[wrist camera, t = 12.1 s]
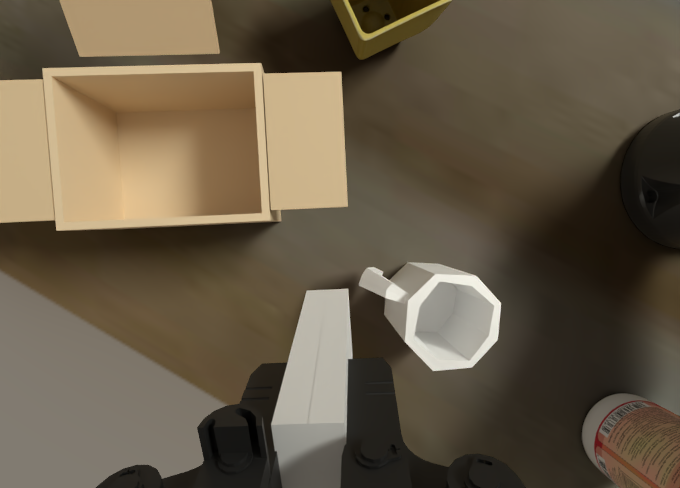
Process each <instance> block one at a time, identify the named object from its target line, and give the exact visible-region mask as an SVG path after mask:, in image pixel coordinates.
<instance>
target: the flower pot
mask: <svg viewBox="0 0 680 488" xmlns="http://www.w3.org/2000/svg"><path fill="white" fill-rule="evenodd" d="M330 1H331V3H332V5H333V7H334V9H335V11H336V14H337V16H338V18H339V20H340V22H341V24H342V26H343V28H344V30H345V33H346V35H347V37H348V39H349V41H350V43H351V46H352V48H353V50H354V52H355V55H356V56H357V58H358V59H360V60H363V59H366V58H368V57H370V56H372V55H374V54H376V53H378V52H380V51H382V50H384V49H386V48H388V47H390V46H392V45H394V44H397V43H399V42H401V41H403V40H405V39H407V38H409V37H412V36H414V35H416V34H418V33H420V32H422V31H424V30H425V29H427V28H428V27H429V26H430V25H431V24H432V23H433V22H434V21H435V20H436V19H437V18H438V17H439V16H440V14H441V13H442V12H443V11H444V10H445V9H446V7H447V6H448V5H449V4H450V3H451V1H452V0H330ZM364 7H368V8H369V11H368V12H364V11H363V8H364ZM385 15H389V17H390V18H389V20H385V18H384V16H385Z"/></svg>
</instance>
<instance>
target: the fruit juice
mask: <svg viewBox="0 0 680 488" xmlns="http://www.w3.org/2000/svg"><path fill="white" fill-rule="evenodd" d="M582 442H583V446H584V449H585V451H586V453H587V455H588V457H589V459H590V460H591V461H592V462H593V464H594V465H595V466H596V467H597V468H598V469H599V470H600V471H601V472H602V473H604V474H605V475H606V476H607V477H608V478H609V479H611V480H612V481H613V482H614V483H615V484H616V485H617V486H619V487H620V488H680V416H678V415H676V414H674V413H672V412H670V411H668V410H667V409H665V408H663V407H661V406H659V405H657V404H655V403H653V402H651V401H649V400H648V399H645V398H643V397H640V396H637V395H633V394H627V393H620V394H613V395H610V396H607V397H605V398H603V399H602V400H600V401H599V402H598V403H596V404H595V405H594V406H593V407H592V408H591V410H590V411H589V413H588V414H587V416H586V418H585V421H584V424H583V428H582Z"/></svg>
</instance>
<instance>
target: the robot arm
mask: <svg viewBox="0 0 680 488" xmlns="http://www.w3.org/2000/svg"><path fill="white" fill-rule="evenodd" d="M621 192H622V198H623V202H624V205H625V208H626V210H627V212H628V214H629V216H630V218H631V220H632V221H633V223H634V224H635V225H636V226H637V228H638V229H639V230H640V231H641V232H642V233H643V234H645V235H646V236H647V237H648V238H650V239H651V240H653V241H655V242H657V243H659V244H661V245H664V246H667V247H672V248H679V249H680V109H679V110H676V111H673V112H670V113H667V114H664V115H662V116H660V117H658V118H656V119H655V120H653V121H652V122H650V123H649V124H648V125H646V126H645V127H644V128H643V129H642V130H641V131H640V132H639V133H638V135H637V136H636V137H635V139H634V140H633V142H632V143H631V145H630V147H629V149H628V151H627V153H626V156H625V158H624V162H623V166H622V171H621ZM352 357H353V354H352V339H351V324H350V309H349V294H348V289H331V290H311V291H307V292H306V295H305V299H304V303H303V307H302V310H301V314H300V318H299V322H298V325H297V329H296V333H295V337H294V340H293V344H292V348H291V352H290V355H289V359H288V363H267V364H261V365H260V366H259V367H258V368H257V369H256V370H255V371H254V372H253V373H252V374H251V376H250V378H249V381H248V383H247V386H246V390H245V391H244V393H243V396H242V401H240V404H235V405H229V406H225V407H223V408H220V409H218V410H216V411H214V412H212V413H211V414H210V415H208V416H207V417H206V418H205V419H204V420H203V421H202V422H201V423H200V425H199V426H198V427H197V428H198V433H199V438H200V443H201V447H202V452H203V457H204V462H203V464H202V465H201V466H199V467H197V468H195V469H192V470H190V471H187V472H184V473H180V474H177V475H174V476H170V477H167V478H164V479H161V476H160V474H159V472H158V470H157V469H156V468H154V467H151V466H149V465H135V466H132V467H128V468H125V469H122V470H120V471H118V472H116V473H115V474H113V475H111V476H109V477H108V478H107V479H105V480H104V481H103V482H102V483H101V484H100V485H98V486H97V487H96V488H526V487H525V486H524V484H523V483H522V482H521V480H520V479H519V478H518V476H517V475H516V474H515V473H514V472H513V471H512V470H511V469H510V468H509V467H508V466H507V465H506V464H504V463H502V462H500V461H499V460H497V459H495V458H493V457H490V456H485V455H481V454H470V455H464V456H462V457H460V458H457V459H455V460H454V462H453V463H452V464H451V465H450V467H445V466H441V465H437V464H433V463H430V462H428V461H425V460H423V459H421V458H419V457H418V456H416V455H414V454H413V453H412V452H411V451H410V450H409V449H408V448H407V446H406V445H405V443H404V442H403V438H402V435H401V429H400V423H399V416H398V410H397V403H396V396H395V390H394V383H393V377H392V370H391V367H390V366H389V365H388V364H387V363H386V361H385V360H384V359H383V358H362V359H352Z"/></svg>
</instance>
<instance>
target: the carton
mask: <svg viewBox="0 0 680 488" xmlns="http://www.w3.org/2000/svg"><path fill="white" fill-rule="evenodd" d="M42 70H43V80H42V79H34V80H0V223H8V222H30V221H51V220H55V221H56V231H65V230H105V229H134V228H155V227H176V226H196V225H217V224H238V223H259V222H280V221H281V210H289V209H310V208H332V207H348V201H347V180H346V159H345V138H344V117H343V96H342V75H341V72H308V73H269V74H265V73H264V70H263V67H262V64H261V63H239V64H198V65H156V66H114V67H73V68H42Z"/></svg>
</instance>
